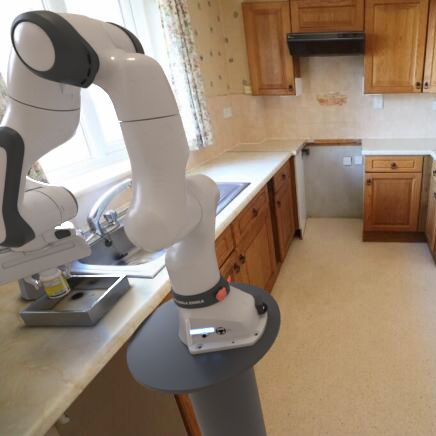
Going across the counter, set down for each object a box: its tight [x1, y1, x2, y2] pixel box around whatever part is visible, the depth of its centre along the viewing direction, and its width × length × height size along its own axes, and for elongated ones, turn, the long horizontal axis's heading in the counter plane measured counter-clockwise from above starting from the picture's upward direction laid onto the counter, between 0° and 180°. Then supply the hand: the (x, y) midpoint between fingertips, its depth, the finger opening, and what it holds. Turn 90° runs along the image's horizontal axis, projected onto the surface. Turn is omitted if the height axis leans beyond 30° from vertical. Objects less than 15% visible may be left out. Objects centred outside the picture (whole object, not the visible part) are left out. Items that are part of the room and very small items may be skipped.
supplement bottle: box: [38, 266, 71, 298], centre depth 86 cm, size 5×5×8 cm
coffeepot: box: [17, 273, 46, 301], centre depth 96 cm, size 15×9×18 cm, turn 90°
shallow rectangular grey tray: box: [18, 274, 131, 327], centre depth 91 cm, size 19×17×4 cm
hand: (54, 282), depth 86 cm, fingers closed on supplement bottle, 5 cm apart
